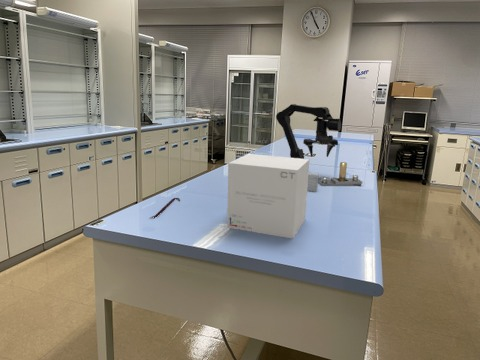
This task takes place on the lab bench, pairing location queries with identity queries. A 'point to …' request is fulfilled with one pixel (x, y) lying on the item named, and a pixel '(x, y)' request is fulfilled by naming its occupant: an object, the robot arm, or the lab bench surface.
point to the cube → (267, 194)
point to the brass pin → (342, 171)
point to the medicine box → (312, 182)
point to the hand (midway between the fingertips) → (319, 156)
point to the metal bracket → (336, 182)
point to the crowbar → (165, 207)
